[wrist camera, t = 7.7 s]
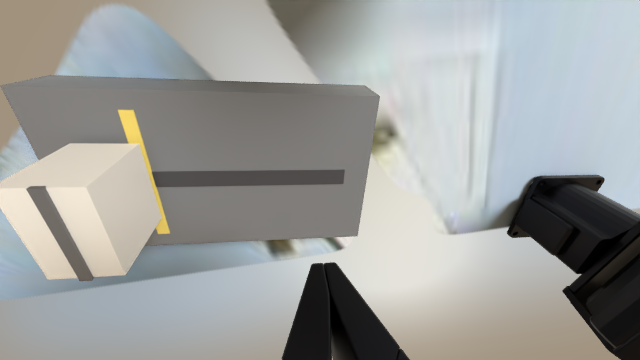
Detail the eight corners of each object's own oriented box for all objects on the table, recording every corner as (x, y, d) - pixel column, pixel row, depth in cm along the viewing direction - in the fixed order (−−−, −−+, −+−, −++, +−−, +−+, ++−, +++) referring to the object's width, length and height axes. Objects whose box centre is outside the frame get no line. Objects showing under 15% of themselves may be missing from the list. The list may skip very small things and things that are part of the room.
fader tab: (138, 142, 14) (82, 188, 10) (161, 218, 16) (124, 278, 12) (69, 142, 13) (-18, 189, 9) (104, 220, 16) (46, 283, 12)
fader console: (365, 85, 17) (380, 96, 14) (348, 211, 22) (357, 236, 19) (49, 75, 15) (-2, 85, 12) (110, 218, 20) (84, 249, 17)
